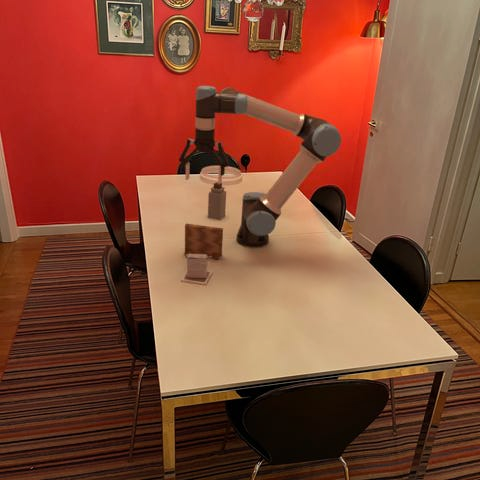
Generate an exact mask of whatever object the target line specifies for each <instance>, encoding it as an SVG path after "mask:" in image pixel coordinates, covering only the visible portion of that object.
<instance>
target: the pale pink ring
mask: <svg viewBox="0 0 480 480" xmlns="http://www.w3.org/2000/svg"><path fill="white" fill-rule="evenodd" d="M219 167H220V165H209V166H205V167H202V169H201V171H200V172H199V174H200V175H199V179H200V181H202V182H203V183H204V184H205V183H206V184H209V185H211V186H214V183H216V182H218V177H219V176H215V175H209V174H216V173H217V174H219ZM224 174H227V175H233V176H222V182H221V183H222V187H225V186H233V185H237V184H240V183H242V182H243V174H242V171H241V170H240V169H239V168H236V167H234V166H228V167H225V173H224Z"/></svg>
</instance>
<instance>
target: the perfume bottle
mask: <svg viewBox="0 0 480 480" xmlns="http://www.w3.org/2000/svg"><path fill="white" fill-rule="evenodd" d="M226 202H227V191H226V190H225V186H222V183H220V184H218V182H216V183H214V185H213V186H211V187H210V191H209V192H208V201H207V203H208V204H207V205H208V206H207V218H208V219H212V220H217V221H220V220H222V219H223V218H225V216H226V210H227V209H226V208H227V207H226V206H227V205H226V204H227V203H226Z"/></svg>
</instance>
